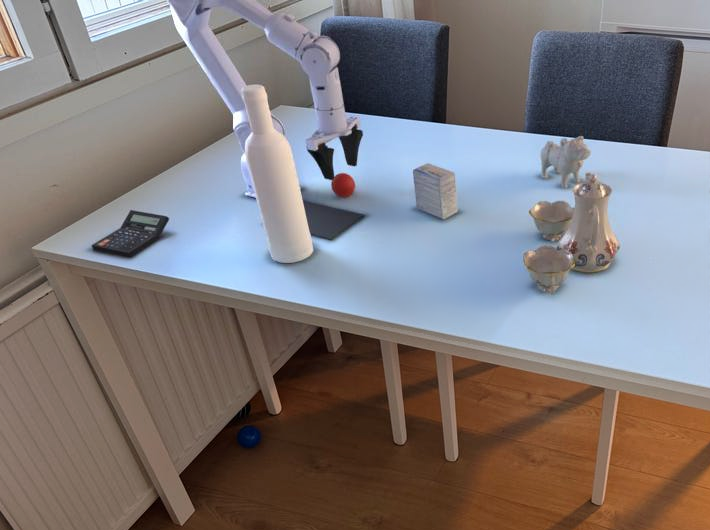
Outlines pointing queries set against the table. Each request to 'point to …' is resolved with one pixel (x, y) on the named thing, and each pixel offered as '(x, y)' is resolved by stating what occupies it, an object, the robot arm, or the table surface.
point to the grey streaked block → (435, 190)
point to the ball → (343, 185)
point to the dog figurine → (564, 158)
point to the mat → (328, 220)
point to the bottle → (275, 182)
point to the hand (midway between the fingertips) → (340, 171)
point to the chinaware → (573, 236)
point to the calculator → (133, 234)
